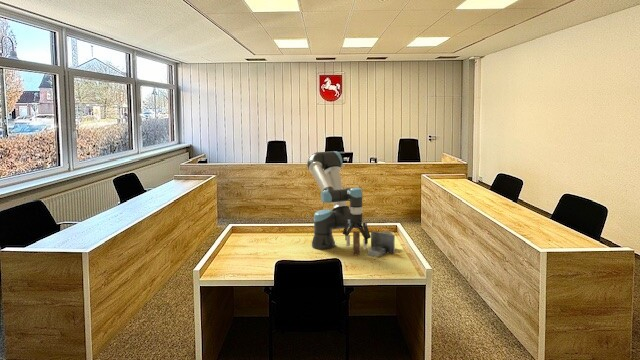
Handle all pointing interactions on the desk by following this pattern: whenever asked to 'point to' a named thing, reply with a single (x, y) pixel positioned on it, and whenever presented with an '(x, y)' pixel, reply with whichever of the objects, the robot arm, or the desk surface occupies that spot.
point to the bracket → (381, 244)
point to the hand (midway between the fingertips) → (356, 247)
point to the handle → (356, 243)
